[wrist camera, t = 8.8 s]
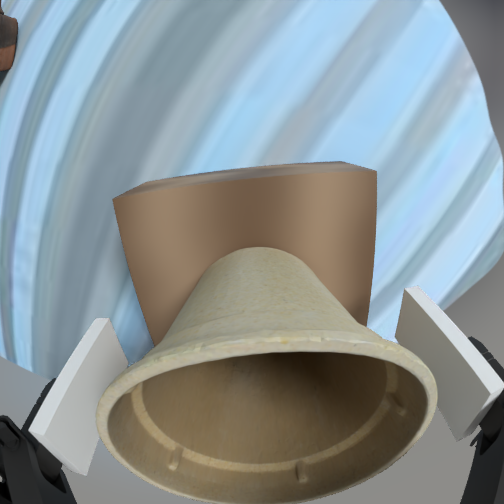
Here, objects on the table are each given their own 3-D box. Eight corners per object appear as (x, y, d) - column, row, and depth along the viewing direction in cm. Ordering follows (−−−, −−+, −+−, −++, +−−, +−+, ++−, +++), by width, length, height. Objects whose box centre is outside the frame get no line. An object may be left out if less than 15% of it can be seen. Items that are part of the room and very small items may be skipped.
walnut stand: (183, 339, 21) (171, 387, 16) (146, 182, 16) (112, 198, 12) (338, 324, 21) (359, 368, 16) (341, 161, 16) (376, 170, 12)
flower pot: (135, 235, 12) (25, 362, 4) (339, 188, 12) (477, 279, 4) (197, 379, 16) (180, 508, 8) (351, 349, 15) (403, 474, 7)
